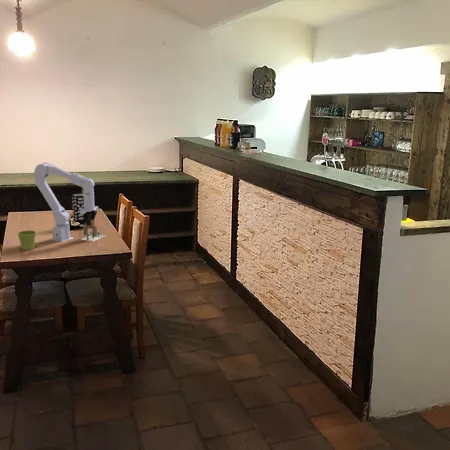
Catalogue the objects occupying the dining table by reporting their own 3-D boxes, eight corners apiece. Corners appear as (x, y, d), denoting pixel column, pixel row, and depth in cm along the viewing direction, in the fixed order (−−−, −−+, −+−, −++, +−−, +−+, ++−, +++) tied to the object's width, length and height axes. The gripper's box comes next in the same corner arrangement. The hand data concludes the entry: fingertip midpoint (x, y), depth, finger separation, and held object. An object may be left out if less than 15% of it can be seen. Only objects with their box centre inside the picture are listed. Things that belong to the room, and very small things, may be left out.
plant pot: (36, 250, 268) (35, 234, 266) (17, 251, 266) (16, 235, 264) (37, 245, 277) (36, 230, 275) (19, 246, 274) (18, 231, 273)
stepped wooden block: (94, 236, 289) (93, 220, 286) (83, 235, 291) (83, 219, 289) (96, 235, 291) (96, 219, 289) (86, 234, 293) (85, 218, 291)
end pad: (101, 237, 294) (101, 237, 294) (89, 236, 297) (89, 235, 297) (105, 236, 298) (105, 235, 298) (92, 234, 301) (92, 234, 300)
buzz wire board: (93, 242, 287) (93, 233, 285) (79, 240, 290) (79, 231, 288) (106, 236, 298) (106, 228, 297) (93, 235, 301) (92, 226, 300)
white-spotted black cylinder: (82, 228, 316) (80, 196, 312) (70, 227, 319) (69, 195, 315) (90, 225, 324) (88, 194, 320) (78, 224, 327) (77, 193, 322)
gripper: (87, 203, 278) (88, 227, 281) (102, 199, 292) (103, 222, 295) (76, 202, 281) (77, 226, 284) (91, 198, 294) (92, 221, 297)
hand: (89, 224), depth 289 cm, fingers closed on stepped wooden block, 2 cm apart
